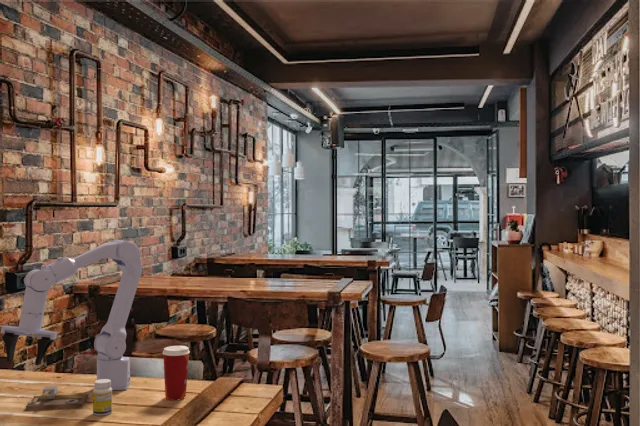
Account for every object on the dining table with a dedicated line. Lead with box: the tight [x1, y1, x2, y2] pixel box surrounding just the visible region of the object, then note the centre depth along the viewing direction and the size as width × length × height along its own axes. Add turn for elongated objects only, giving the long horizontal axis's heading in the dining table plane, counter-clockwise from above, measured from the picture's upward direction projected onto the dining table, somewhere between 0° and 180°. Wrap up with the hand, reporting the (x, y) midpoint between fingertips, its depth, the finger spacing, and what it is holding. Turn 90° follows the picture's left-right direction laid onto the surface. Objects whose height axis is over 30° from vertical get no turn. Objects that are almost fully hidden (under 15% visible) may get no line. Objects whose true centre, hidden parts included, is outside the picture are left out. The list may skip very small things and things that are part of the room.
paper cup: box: [161, 345, 191, 401], centre depth 175 cm, size 8×8×14 cm
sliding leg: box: [42, 385, 58, 399], centre depth 167 cm, size 3×7×3 cm, turn 10°
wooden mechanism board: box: [25, 392, 90, 411], centre depth 168 cm, size 14×9×2 cm, turn 100°
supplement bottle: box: [92, 379, 113, 417], centre depth 161 cm, size 5×5×8 cm
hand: (23, 362), depth 169 cm, fingers open, 7 cm apart
